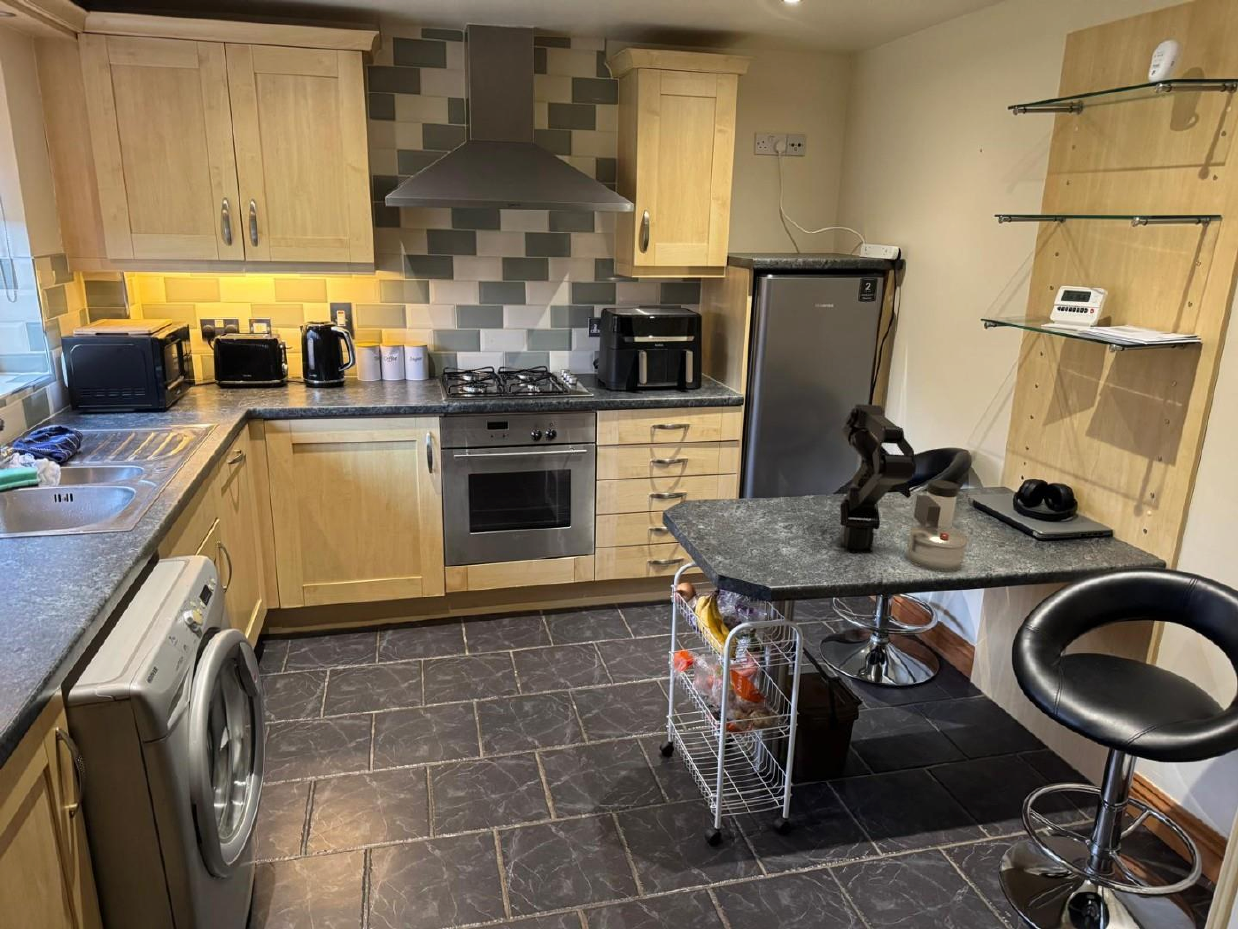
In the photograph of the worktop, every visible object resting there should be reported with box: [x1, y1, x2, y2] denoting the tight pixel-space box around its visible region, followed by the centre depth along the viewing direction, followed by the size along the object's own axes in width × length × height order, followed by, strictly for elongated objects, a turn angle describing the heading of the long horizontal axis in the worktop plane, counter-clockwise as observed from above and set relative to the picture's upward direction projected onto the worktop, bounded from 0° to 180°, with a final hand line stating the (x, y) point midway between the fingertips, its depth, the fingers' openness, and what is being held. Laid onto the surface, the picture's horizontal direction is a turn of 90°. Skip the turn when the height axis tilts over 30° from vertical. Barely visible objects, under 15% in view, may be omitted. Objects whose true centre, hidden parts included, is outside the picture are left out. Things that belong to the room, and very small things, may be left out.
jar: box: [925, 479, 960, 529], centre depth 235 cm, size 9×8×12 cm
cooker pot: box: [906, 535, 967, 573], centre depth 211 cm, size 20×13×6 cm, turn 148°
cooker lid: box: [909, 494, 969, 548], centre depth 211 cm, size 22×13×6 cm, turn 178°
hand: (906, 493), depth 217 cm, fingers open, 5 cm apart
